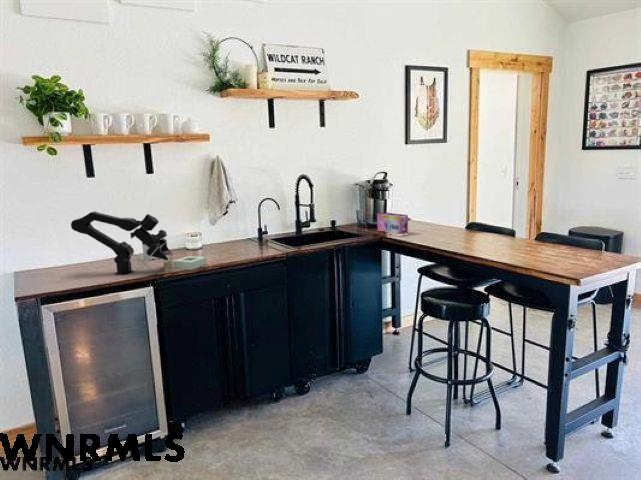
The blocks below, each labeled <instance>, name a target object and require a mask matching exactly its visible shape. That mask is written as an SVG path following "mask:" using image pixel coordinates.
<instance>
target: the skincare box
mask: <svg viewBox="0 0 641 480" xmlns="http://www.w3.org/2000/svg"><path fill="white" fill-rule="evenodd" d="M149 233H150V232H149ZM150 234H154V235H156V234H157V233H156V232H151V233H150ZM142 243H143V242H141V244H142ZM148 249H149V247H147V246H146V245H143V244H142V253H143V260H144V261H146V260H149V261H153V260H152V259H155V260H159V259H158V258H157V257H153V256H149V255H147V253H146V251H147V250H148Z"/></svg>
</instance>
